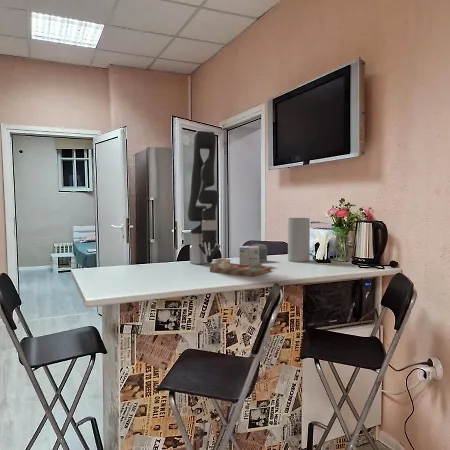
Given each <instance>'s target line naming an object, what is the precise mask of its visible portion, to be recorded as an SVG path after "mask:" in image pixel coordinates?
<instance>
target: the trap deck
mask: <svg viewBox="0 0 450 450" xmlns="http://www.w3.org/2000/svg"><path fill="white" fill-rule="evenodd" d="M271 271H272V267H271V266H265V265H263V264H262V263H260V262H259V264H256V265H244V264H240V263H233V262H232V263H231V262H230V267H229V268H225V269H221V268H214V266H212V267H209V273H217V274H227V275H233V276H234V275H236V276H243V277H244V276H246V277H256V276H260V275H261V274H262V273H263V274H266V273H269V272H271Z"/></svg>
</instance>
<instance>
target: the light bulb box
mask: <svg viewBox="0 0 450 450" xmlns="http://www.w3.org/2000/svg"><path fill="white" fill-rule="evenodd" d="M238 253H239V254H238V255H239V264H244V265H256V264H259V263H260V262H259V246H249V245H240V246H239V252H238Z"/></svg>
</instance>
